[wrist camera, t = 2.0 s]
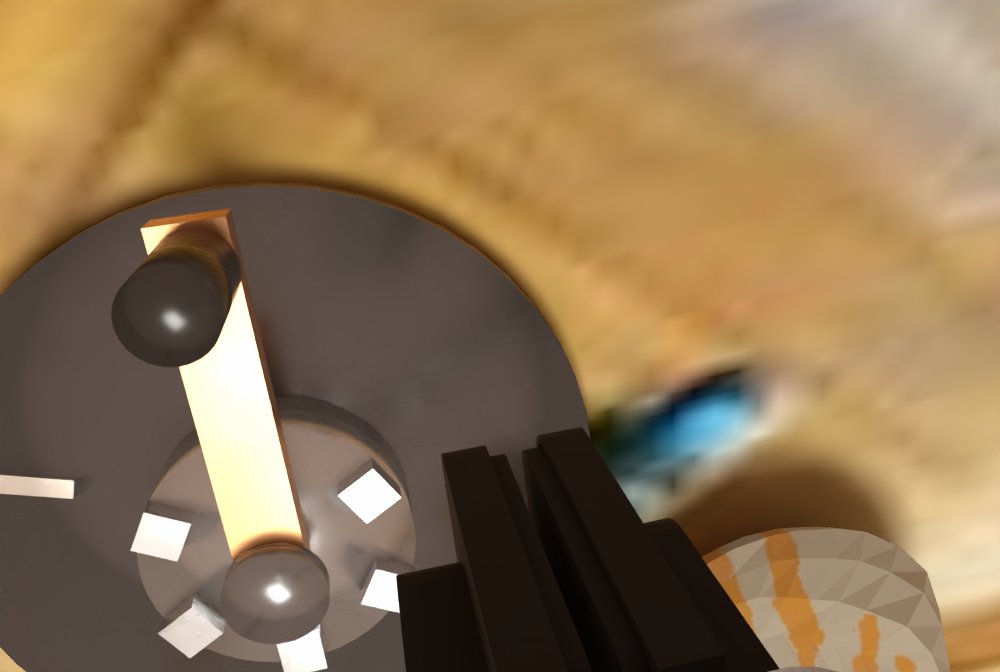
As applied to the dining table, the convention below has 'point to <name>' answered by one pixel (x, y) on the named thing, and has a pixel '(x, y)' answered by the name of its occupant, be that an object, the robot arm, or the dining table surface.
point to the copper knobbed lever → (254, 474)
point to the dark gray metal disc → (294, 373)
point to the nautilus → (833, 600)
